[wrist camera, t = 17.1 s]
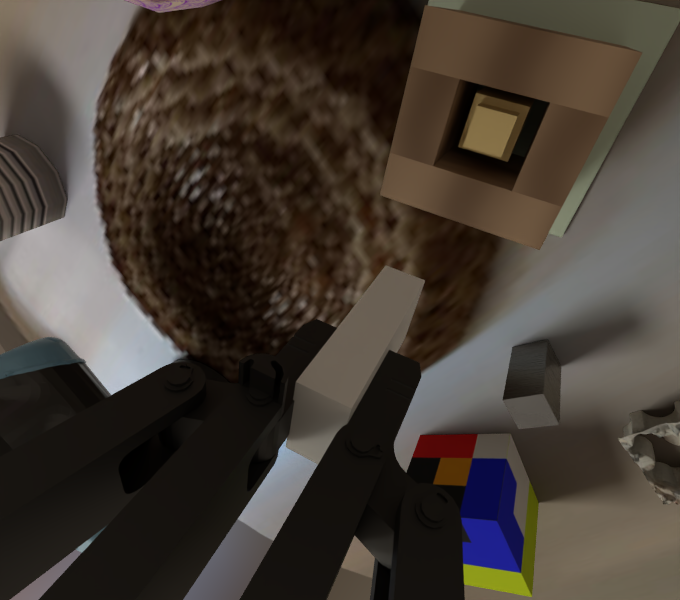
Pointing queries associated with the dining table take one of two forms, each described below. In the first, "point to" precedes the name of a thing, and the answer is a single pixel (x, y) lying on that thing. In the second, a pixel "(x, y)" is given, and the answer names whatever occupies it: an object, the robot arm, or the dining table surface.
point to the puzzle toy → (485, 505)
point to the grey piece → (662, 477)
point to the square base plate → (525, 112)
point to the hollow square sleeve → (513, 76)
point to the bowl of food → (171, 4)
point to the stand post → (533, 385)
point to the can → (27, 188)
